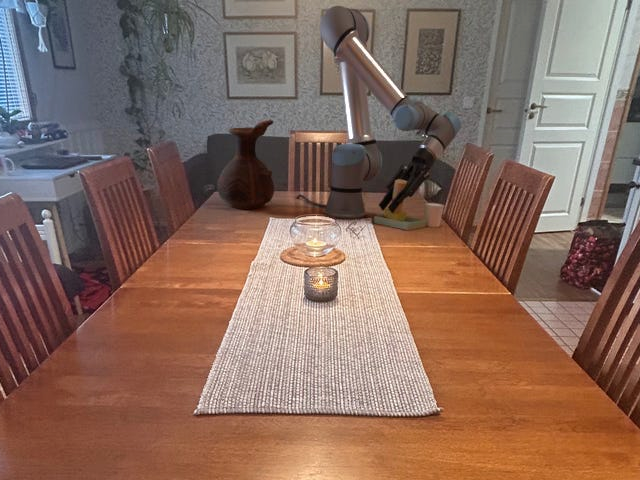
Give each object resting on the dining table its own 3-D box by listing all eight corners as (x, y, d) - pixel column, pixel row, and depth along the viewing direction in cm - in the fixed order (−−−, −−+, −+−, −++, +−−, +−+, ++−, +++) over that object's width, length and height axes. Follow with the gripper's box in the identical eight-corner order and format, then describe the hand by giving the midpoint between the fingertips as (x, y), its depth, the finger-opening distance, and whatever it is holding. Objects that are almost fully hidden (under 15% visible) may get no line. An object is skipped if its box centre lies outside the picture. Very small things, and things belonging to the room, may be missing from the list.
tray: (373, 222, 212) (374, 216, 211) (391, 219, 218) (392, 213, 217) (407, 230, 203) (408, 223, 202) (425, 227, 209) (426, 220, 208)
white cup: (442, 227, 209) (446, 206, 206) (423, 226, 209) (426, 205, 205) (439, 223, 215) (442, 203, 211) (420, 223, 215) (423, 202, 211)
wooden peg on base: (383, 216, 213) (389, 179, 204) (393, 213, 215) (399, 177, 207) (395, 221, 210) (402, 185, 201) (405, 219, 212) (412, 182, 204)
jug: (220, 211, 219) (217, 118, 203) (216, 201, 237) (212, 115, 221) (278, 211, 223) (280, 120, 207) (269, 201, 241) (270, 117, 225)
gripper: (449, 166, 203) (407, 220, 203) (414, 160, 215) (374, 212, 215) (440, 149, 197) (397, 205, 198) (405, 144, 209) (364, 197, 210)
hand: (385, 208), depth 207 cm, fingers closed on wooden peg on base, 4 cm apart
